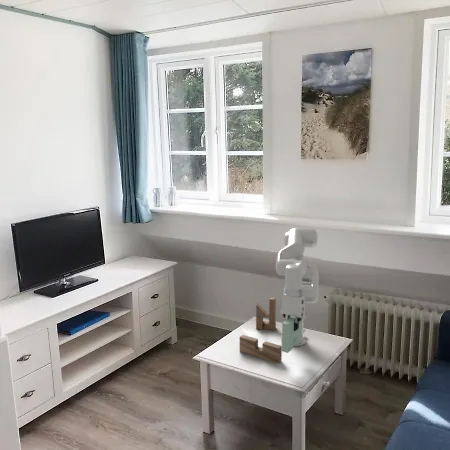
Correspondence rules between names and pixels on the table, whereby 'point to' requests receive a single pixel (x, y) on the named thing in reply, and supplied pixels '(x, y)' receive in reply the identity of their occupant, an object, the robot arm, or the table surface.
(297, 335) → the green slotted board
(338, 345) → the table surface
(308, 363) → the table surface
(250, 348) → the walnut slotted plate
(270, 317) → the wooden block
